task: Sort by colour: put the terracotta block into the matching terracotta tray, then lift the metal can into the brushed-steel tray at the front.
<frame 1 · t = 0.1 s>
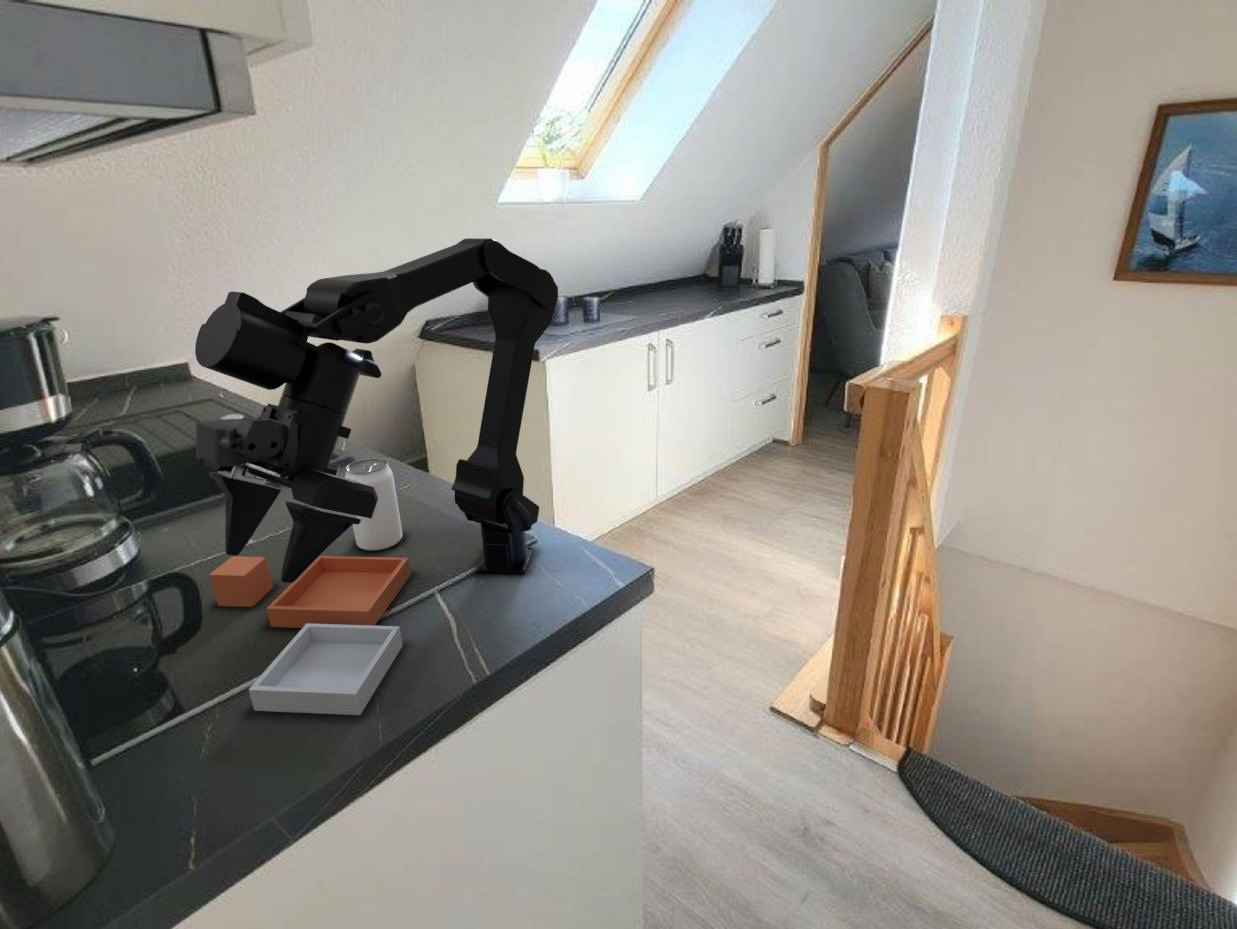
hand: (257, 567, 59), 15 cm above the worktop, tool tilted 35°, fingers open, 9 cm apart
can: (380, 542, 95), on the worktop
terracotta tray: (345, 599, 81), on the worktop
block: (246, 596, 82), on the worktop
steel tray: (333, 676, 68), on the worktop
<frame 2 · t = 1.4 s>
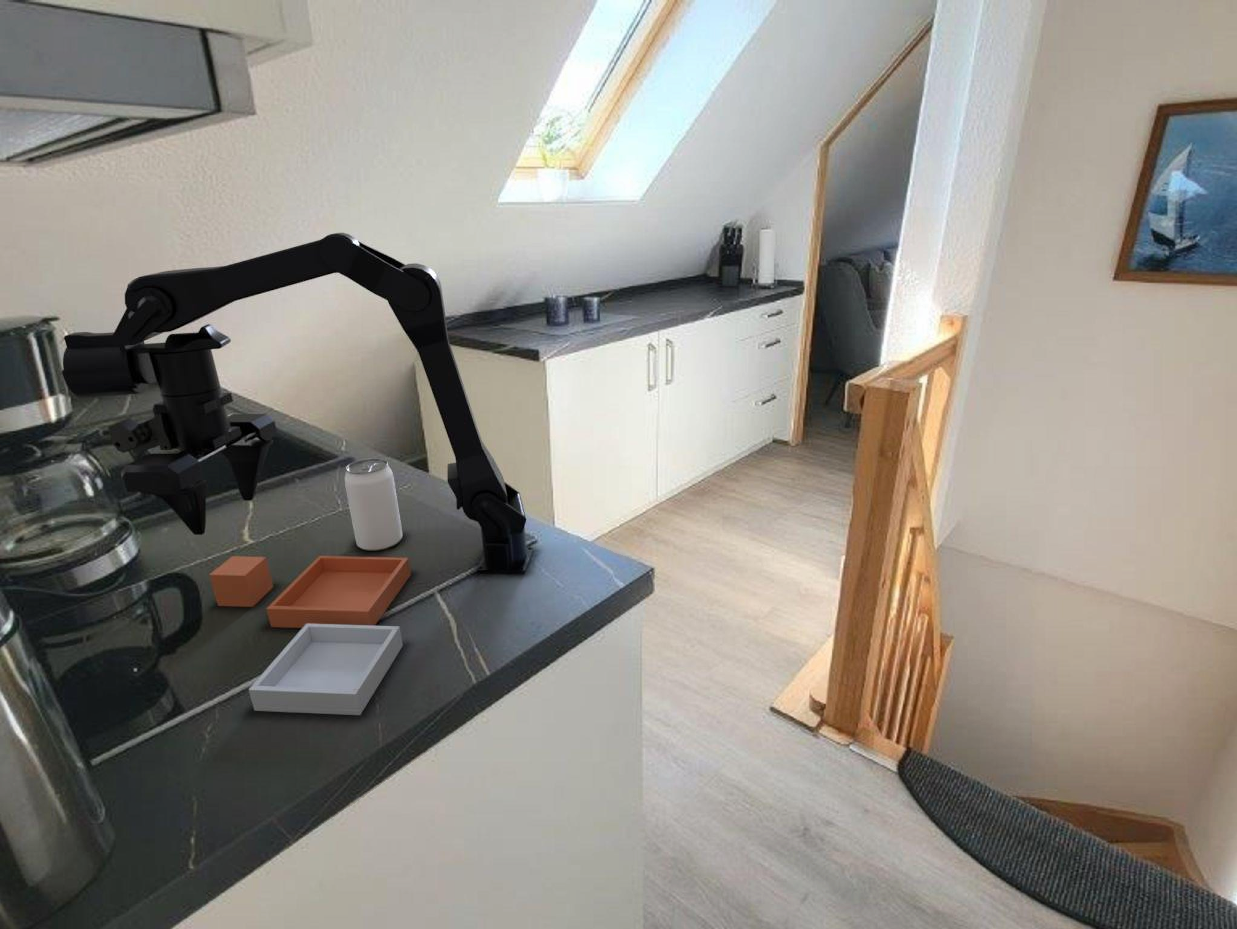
hand: (225, 516, 78), 11 cm above the worktop, tool pointing down, fingers open, 9 cm apart
nothing on the worktop moved.
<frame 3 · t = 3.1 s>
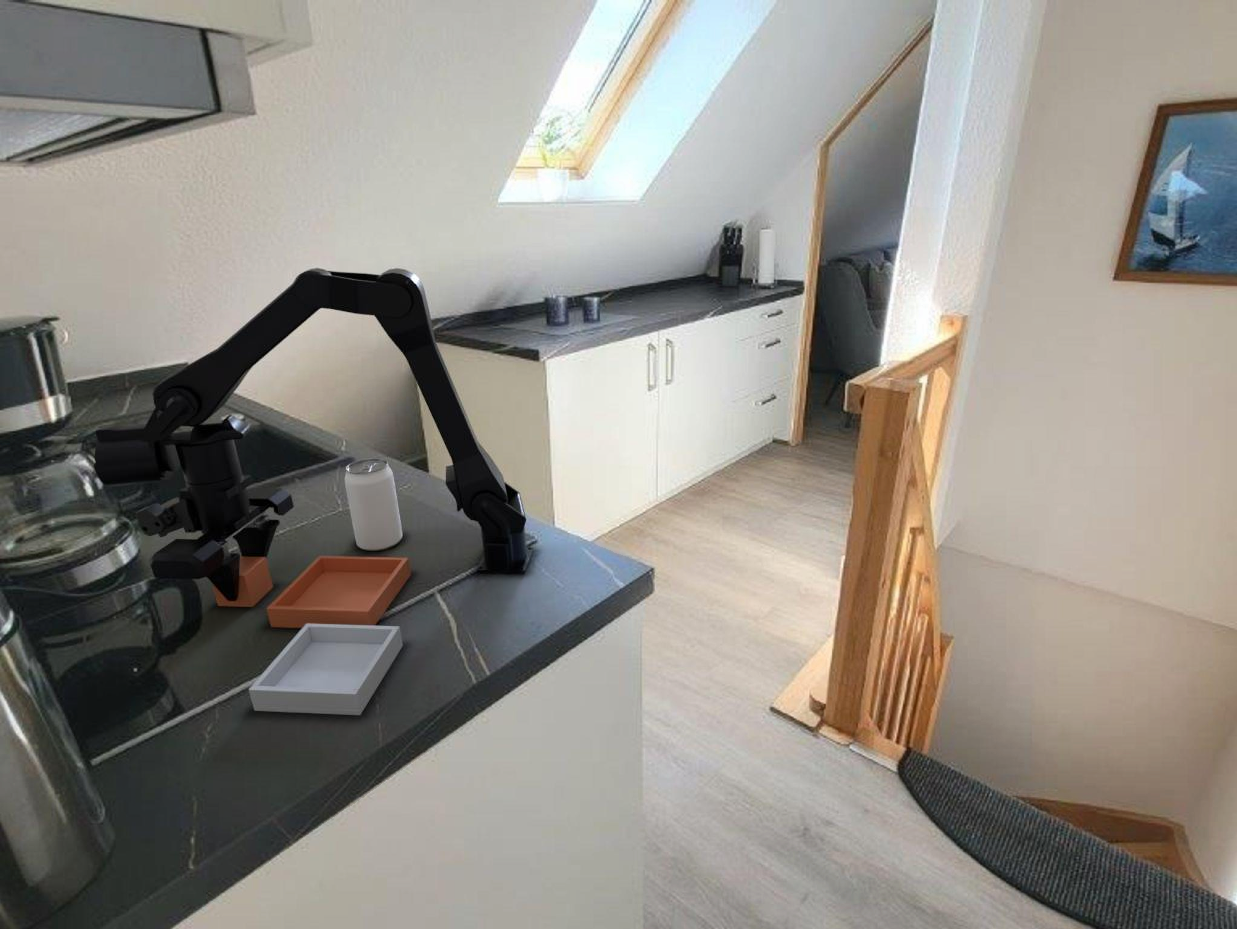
hand: (244, 589, 82), 1 cm above the worktop, tool pointing down, fingers closed on block, 4 cm apart
block: (246, 596, 82), on the worktop, touching gripper
everything else where it was.
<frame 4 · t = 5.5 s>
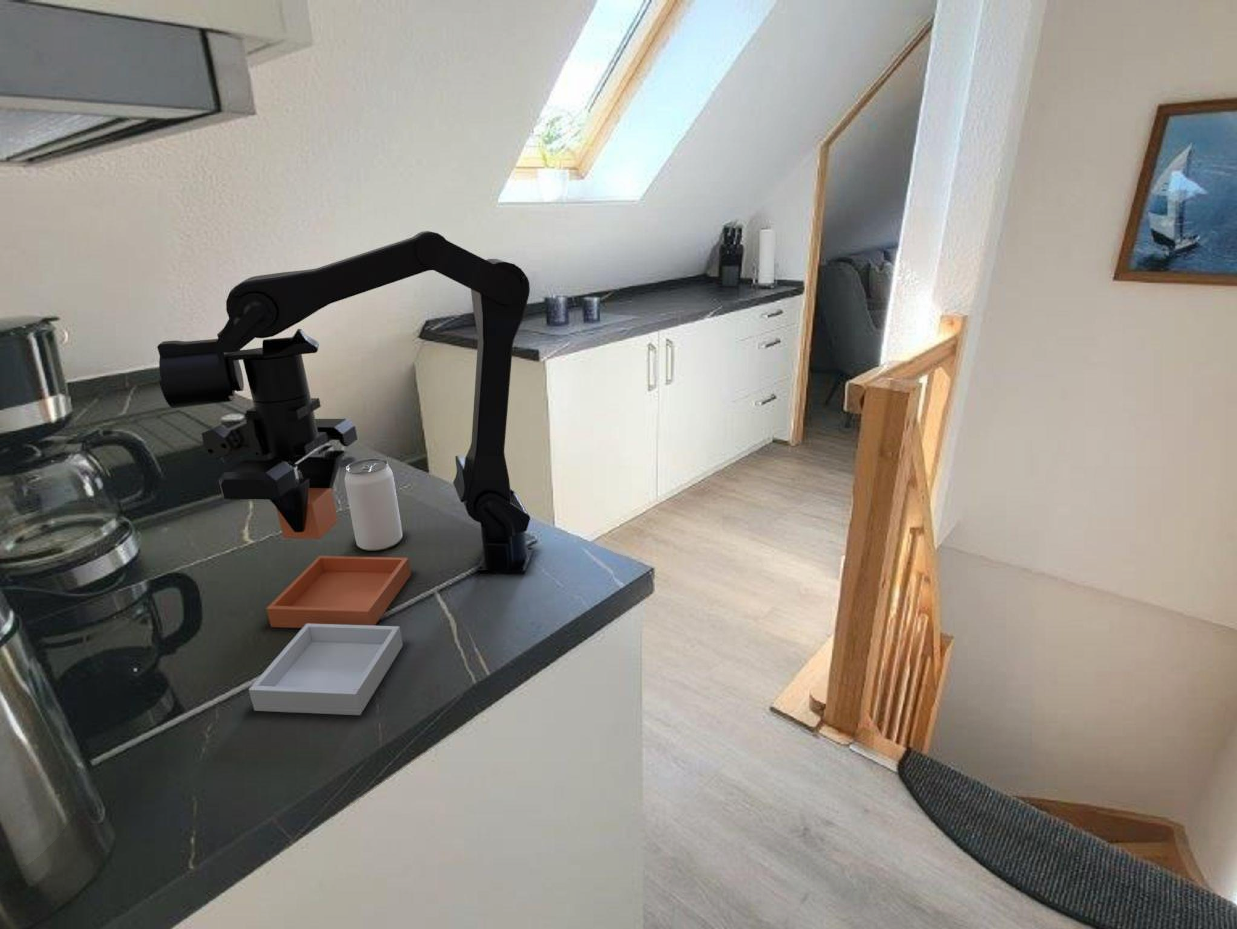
hand: (310, 522, 78), 11 cm above the worktop, tool pointing down, fingers closed on block, 4 cm apart
block: (311, 529, 78), point 10 cm above the worktop, touching gripper
everything else where it was.
when the fingers open (2 cm above the worktop, at t = 8.1 s): block stays where it is, resting on terracotta tray.
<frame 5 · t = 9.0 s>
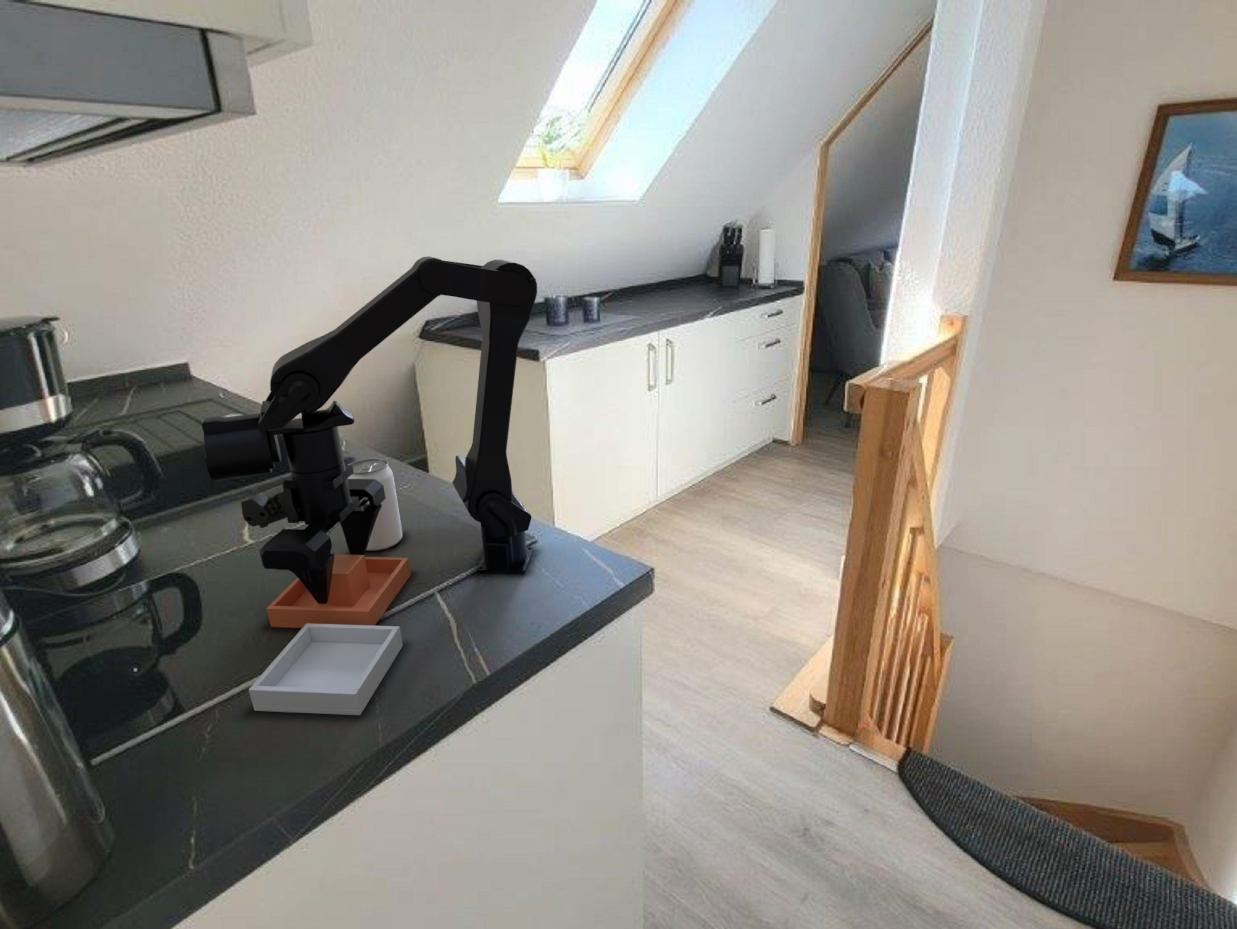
hand: (341, 581, 80), 3 cm above the worktop, tool pointing down, fingers open, 9 cm apart
block: (344, 595, 81), point 1 cm above the worktop, touching terracotta tray
everything else where it was.
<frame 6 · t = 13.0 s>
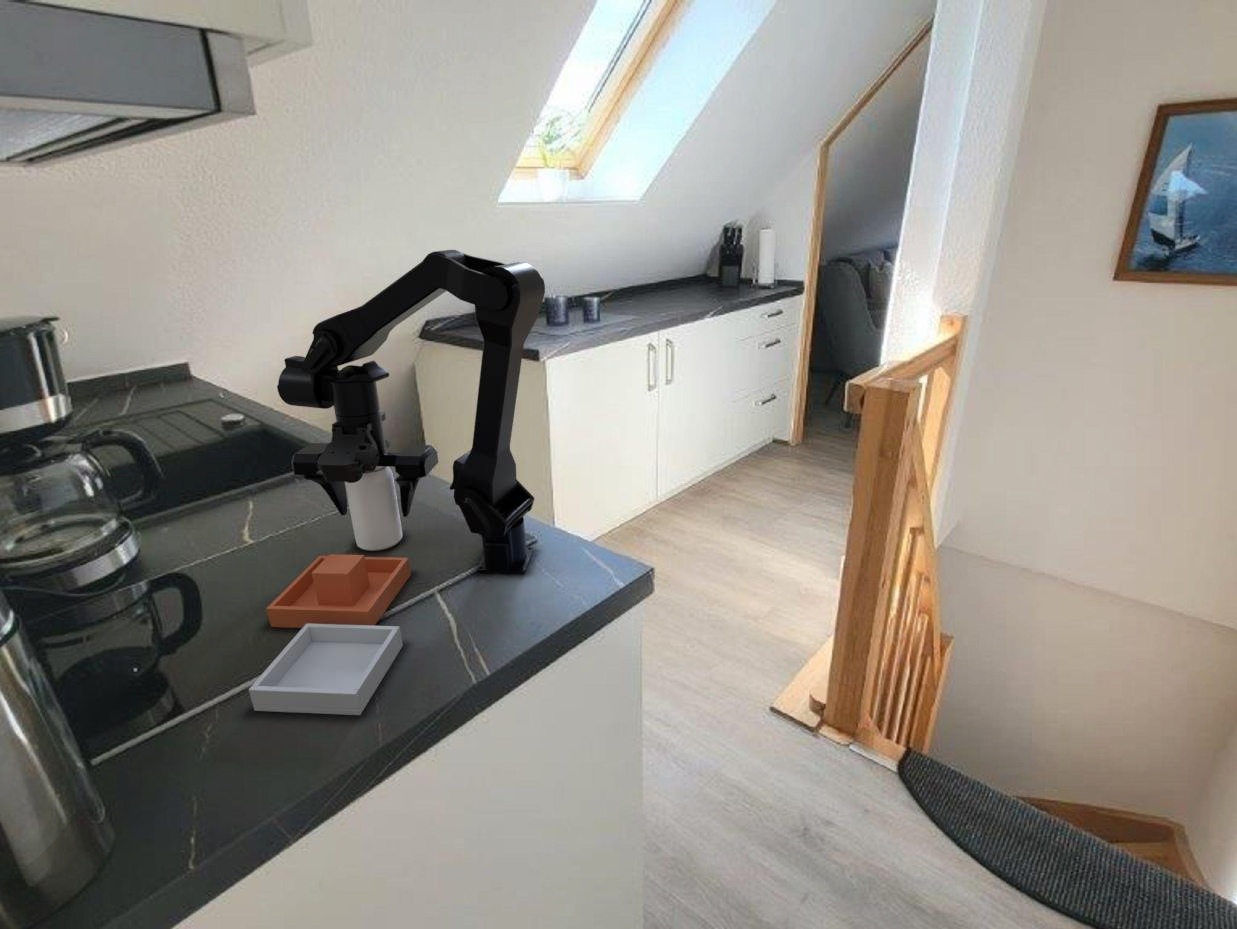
hand: (375, 514, 94), 4 cm above the worktop, tool pointing down
can: (380, 542, 95), on the worktop, touching gripper
everything else where it was.
when the fingers open (6 cm above the worktop, at t = 19.3 s): can stays where it is, resting on steel tray.
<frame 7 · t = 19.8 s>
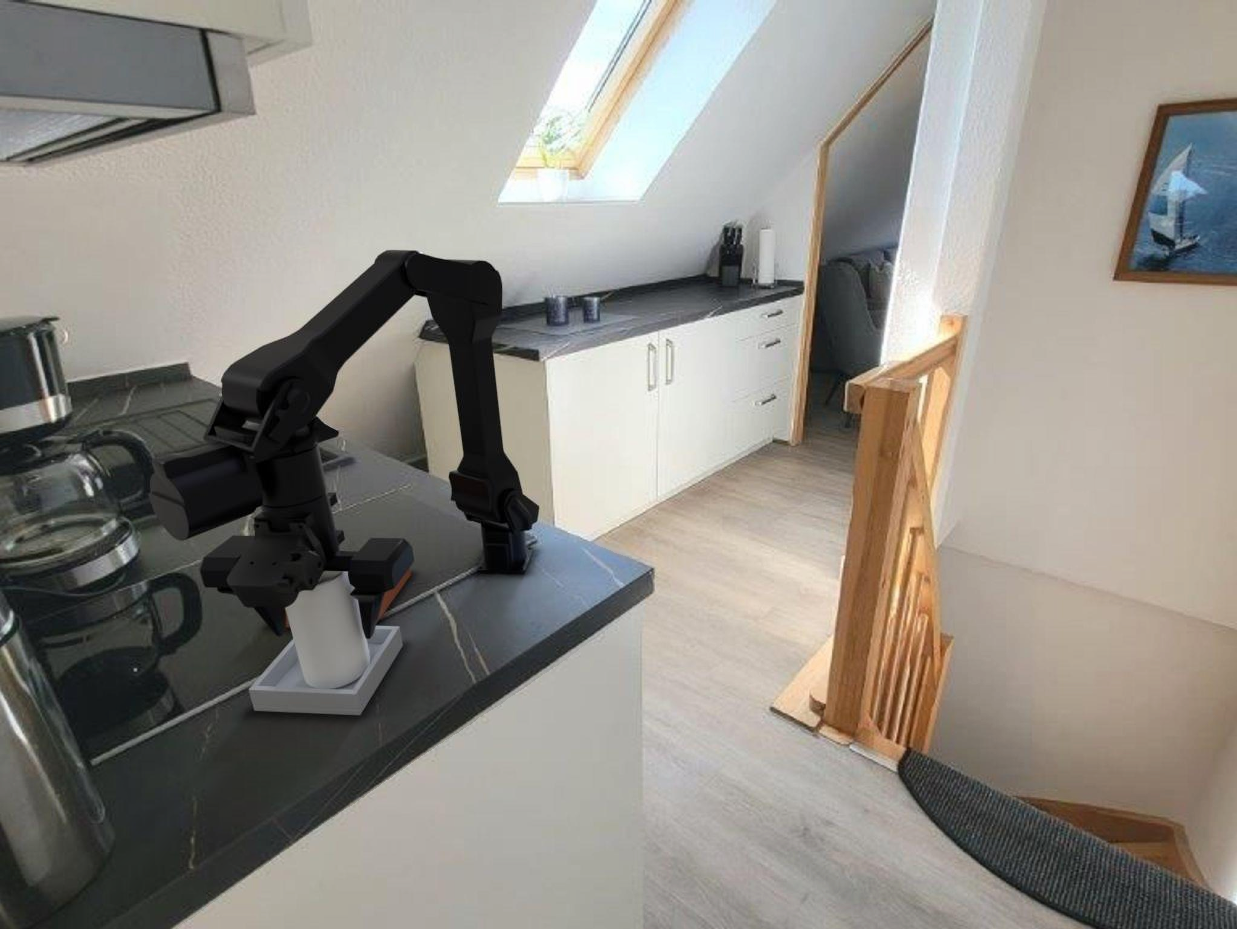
hand: (325, 635, 66), 5 cm above the worktop, tool pointing down, fingers open, 9 cm apart
can: (339, 672, 68), resting on steel tray, touching gripper
everything else where it was.
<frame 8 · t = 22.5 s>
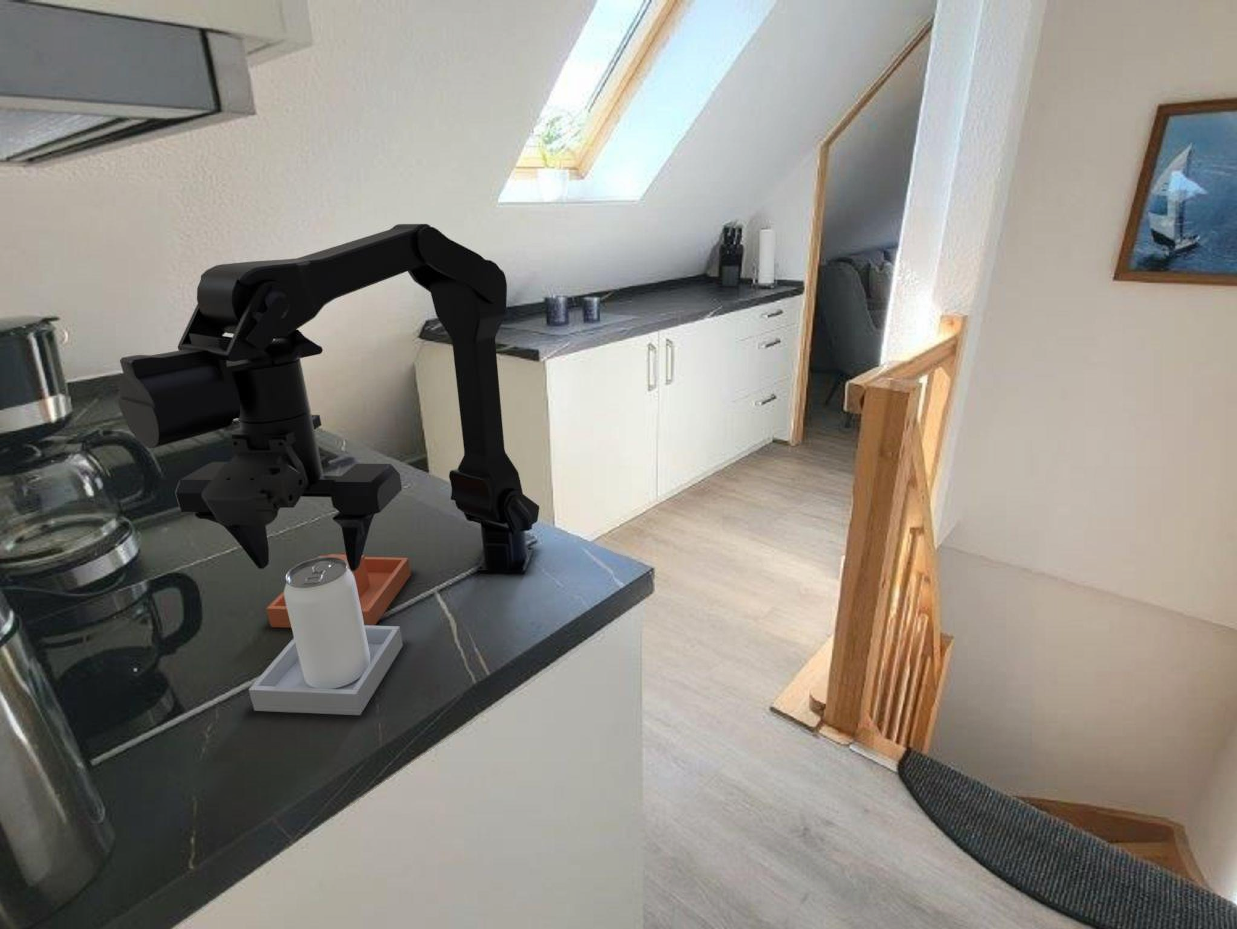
hand: (309, 567, 63), 13 cm above the worktop, tool pointing down, fingers open, 9 cm apart
can: (339, 672, 68), resting on steel tray
everything else where it was.
at the end: block inside the target area in the terracotta tray (0.0 cm from its centre), point 0.6 cm above the terracotta tray's base; can 0.6 cm off-centre in the steel tray, point 0.4 cm above the steel tray's base; can tilted 0° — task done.
